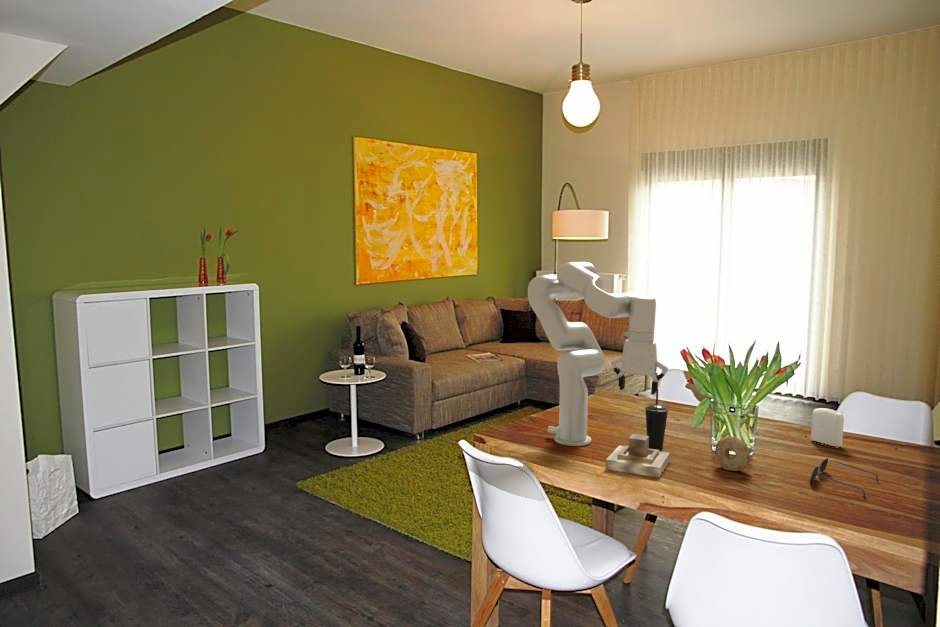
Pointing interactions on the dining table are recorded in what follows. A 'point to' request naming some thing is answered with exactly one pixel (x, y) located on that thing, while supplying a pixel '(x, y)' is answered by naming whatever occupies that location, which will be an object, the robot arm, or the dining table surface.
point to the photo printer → (827, 426)
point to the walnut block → (638, 445)
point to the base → (638, 462)
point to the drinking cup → (656, 424)
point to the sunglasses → (822, 468)
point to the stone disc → (729, 462)
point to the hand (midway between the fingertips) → (637, 391)
